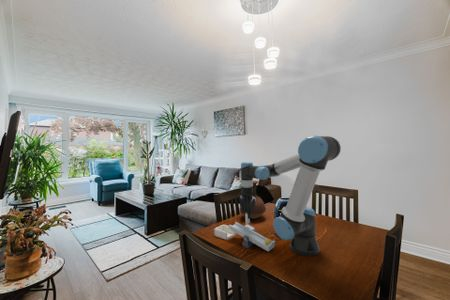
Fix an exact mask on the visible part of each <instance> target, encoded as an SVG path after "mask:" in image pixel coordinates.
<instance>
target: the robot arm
mask: <svg viewBox="0 0 450 300" xmlns="http://www.w3.org/2000/svg"><path fill="white" fill-rule="evenodd" d="M341 148H342V147H341V144H340V142H339V141H338V139H336V138H334V137H333V136H329V135H327V136H325V135H321V136H320V135H311V136H308V137H305V138H304V139H302V140H301V141H300V143H299V145H298V148H297V153H296V154H293V155H291V156H289V157H287V158H284V159H281V160H280V161H276V162H273V163H272V164H269V165H267V164H266V165H254V164H253V162H252V161H243V162H241V163H240V186H241V187H240V193H241V194H240V195H239V196H238V197H237V198H238V200H239V203H240V206H241V210H242V211H243V212H244V215H243V216H244V218H245V225H247V224H248V225H249V224H250V223H251V220H250V219H252V218H251V213H253V212H254V207H255V202H256V200H257V198H254V197H253V187H252V186H253V181H254V179H257V180H260V181H261V180H263V181H265V180H267V179H268V178H272V177H279V176H281V175H282V174H284V173H288V172H291V171H294V170H296V169H299V170H298V173H297V175H296V178H295V181H294V183H293V186H292V189H291V192H290V194H289V198H288V201H287V204H286V206H283V207H282V209H281V210H280V211H281V213H280V216H279V217H277V216H276V217H275V218H274V219H273V222H272V227H273V229H274V232H275V234H276V235H277V236H278V238H280V239H282V240H284V241H289V240H290V244H289V247H290V250H291V251H292V252H294V253H295V254H297V255H301V256H306V257H314V256H316V255H318V254H319V253H320V245H319V242H318V239H317V236H316V211H315V210H314V209H313V208H310V207H307V205H308V203H309V201H310V198H311V194H312V192H313V191H314V187H315V185H316V183H317V180H318V177H319V174H320V172H322V171H324V170H325V169H326V167H327V164H328V162H329V161H333V160H335V159H337V158H338V156H339V155H340V153H341V150H342V149H341ZM251 200H252V203H251Z"/></svg>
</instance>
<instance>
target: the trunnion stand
mask: <svg viewBox="0 0 450 300" xmlns="http://www.w3.org/2000/svg"><path fill="white" fill-rule="evenodd" d="M253 231H254V232H256V233H258V231H256V230H253ZM254 245H255V244H254V243H253V242H251V241H249V237H248V236H244V237H243V241H242V247H243V248H245V249H250V248H251V247H253V246H254Z"/></svg>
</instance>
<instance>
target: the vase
mask: <svg viewBox="0 0 450 300" xmlns="http://www.w3.org/2000/svg"><path fill="white" fill-rule="evenodd" d="M258 183H259V181H258V180H253V186H252V187H253V197H254V198H257V200H256V202H255V207H254V212H253V213H251V218H250V219H252V220H256V219H257V218H260V217H261V216H263V214H264V213H265V212H266V211H267V208H266V205H265V202H264V201H263V198H261V197H260V196H258V195H257V184H258ZM251 203H252V200H251ZM239 210H240V211H239V212H240V213H241V214H242V215H243V216H244V212H243V211H242V210H241V205H240V207H239Z"/></svg>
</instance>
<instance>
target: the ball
mask: <svg viewBox="0 0 450 300" xmlns="http://www.w3.org/2000/svg"><path fill="white" fill-rule="evenodd" d="M271 241H272V240H271V239H270V238H267V239H266V240H265V244H266V245H267V246H268V245H269V244H270V243H271Z"/></svg>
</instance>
